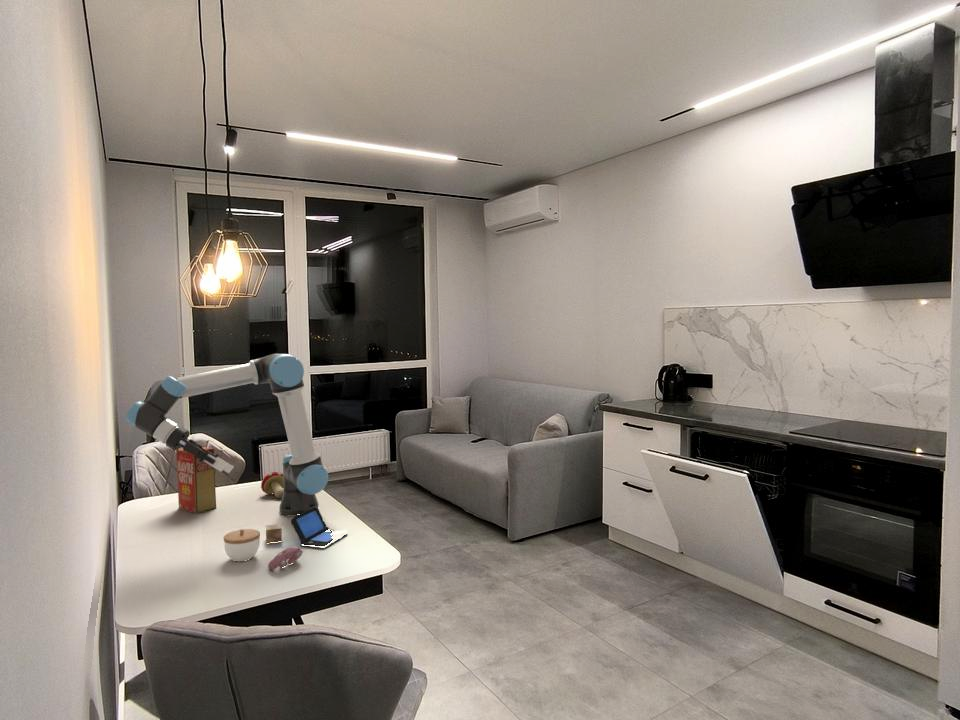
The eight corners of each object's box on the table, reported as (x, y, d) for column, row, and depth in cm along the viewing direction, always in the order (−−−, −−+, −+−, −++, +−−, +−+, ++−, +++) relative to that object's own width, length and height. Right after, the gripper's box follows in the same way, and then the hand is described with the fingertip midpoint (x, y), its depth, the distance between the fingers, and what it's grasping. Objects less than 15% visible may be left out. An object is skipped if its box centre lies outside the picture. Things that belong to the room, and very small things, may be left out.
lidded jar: (266, 557, 187) (265, 529, 186) (233, 568, 179) (232, 537, 178) (251, 549, 194) (250, 521, 194) (218, 559, 186) (217, 530, 186)
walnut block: (281, 537, 205) (281, 523, 205) (281, 542, 201) (281, 528, 200) (266, 539, 204) (265, 525, 203) (266, 544, 199) (266, 530, 199)
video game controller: (274, 577, 175) (281, 559, 174) (265, 568, 178) (271, 549, 176) (300, 566, 184) (307, 548, 182) (291, 557, 186) (297, 539, 184)
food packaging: (176, 509, 240) (174, 448, 239) (198, 503, 248) (196, 444, 247) (196, 514, 233) (194, 451, 232) (217, 507, 241) (215, 447, 240)
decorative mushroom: (287, 480, 251) (275, 462, 262) (264, 496, 247) (253, 478, 258) (299, 496, 258) (287, 478, 269) (276, 512, 254) (265, 493, 265)
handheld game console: (324, 550, 193) (323, 522, 193) (289, 546, 198) (289, 519, 197) (349, 534, 208) (348, 509, 208) (316, 531, 212) (316, 506, 212)
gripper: (175, 447, 205) (227, 479, 207) (153, 441, 181) (212, 477, 183) (189, 429, 207) (240, 461, 209) (169, 421, 184) (227, 457, 185)
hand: (227, 469), depth 196 cm, fingers open, 13 cm apart
